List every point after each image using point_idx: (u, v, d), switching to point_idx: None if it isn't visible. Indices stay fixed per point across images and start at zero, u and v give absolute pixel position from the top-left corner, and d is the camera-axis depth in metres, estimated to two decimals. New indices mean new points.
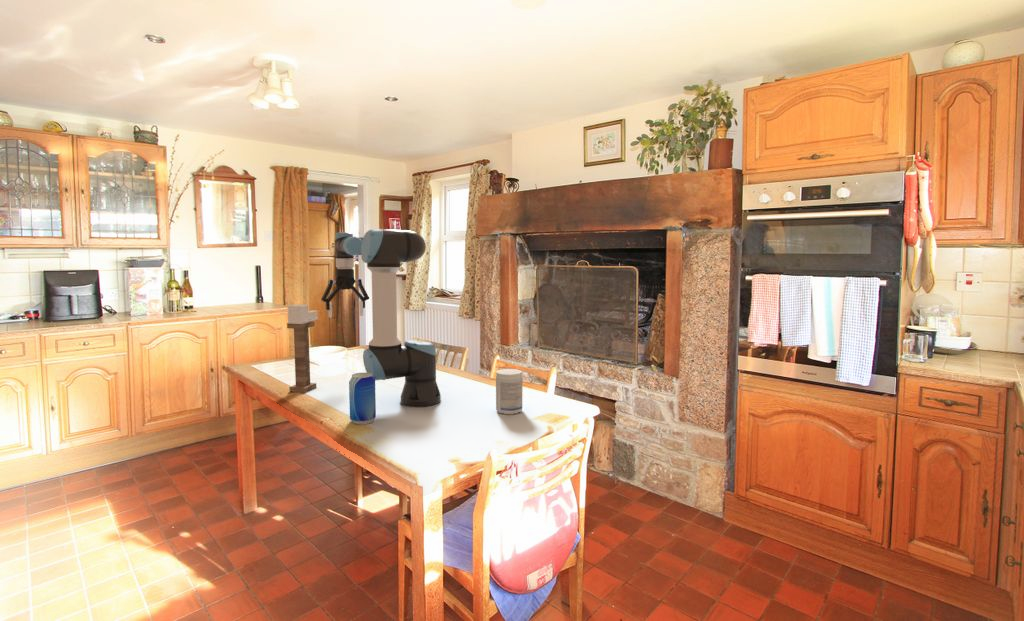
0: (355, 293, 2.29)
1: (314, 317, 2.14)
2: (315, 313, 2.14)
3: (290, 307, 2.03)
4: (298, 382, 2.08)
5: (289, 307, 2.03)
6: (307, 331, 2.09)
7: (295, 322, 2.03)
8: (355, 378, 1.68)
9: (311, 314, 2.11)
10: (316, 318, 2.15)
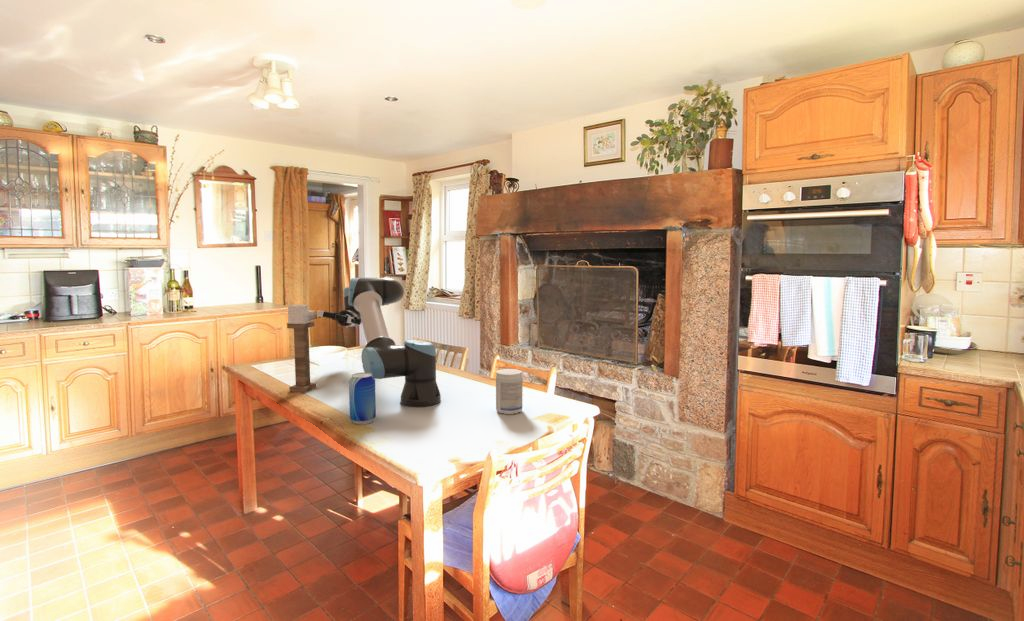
0: None
1: (312, 317, 2.14)
2: (312, 313, 2.15)
3: (291, 307, 2.03)
4: (298, 382, 2.08)
5: (290, 307, 2.03)
6: (307, 331, 2.09)
7: (296, 322, 2.03)
8: (355, 378, 1.68)
9: (309, 314, 2.12)
10: (313, 318, 2.15)
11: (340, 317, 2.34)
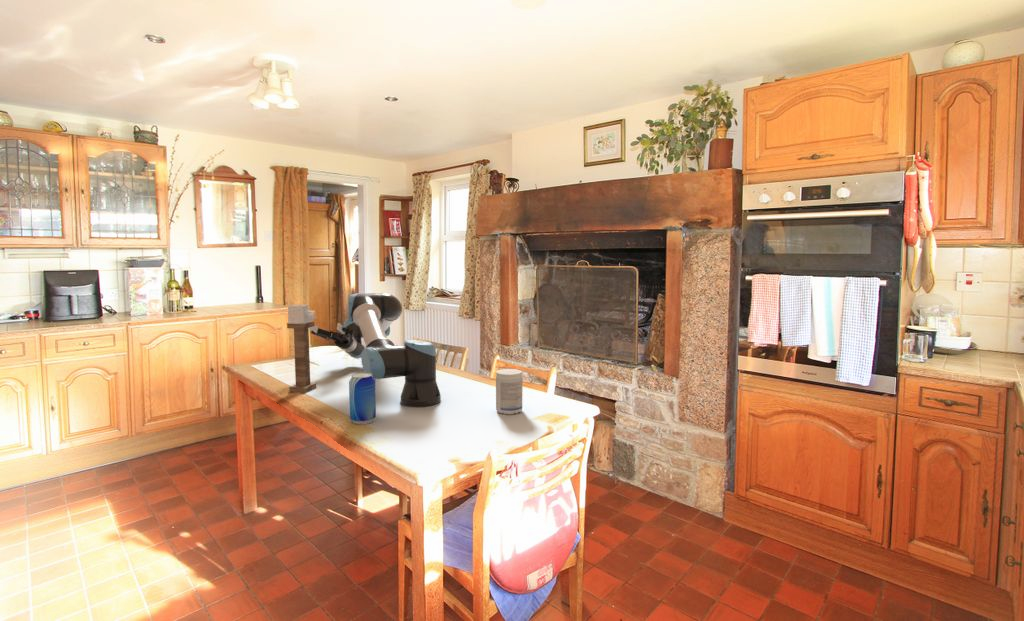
0: (343, 335, 2.32)
1: (312, 317, 2.14)
2: (312, 313, 2.15)
3: (291, 307, 2.03)
4: (298, 382, 2.08)
5: (290, 307, 2.03)
6: (307, 331, 2.09)
7: (296, 322, 2.03)
8: (355, 378, 1.68)
9: (309, 314, 2.12)
10: (313, 318, 2.15)
11: (335, 335, 2.35)
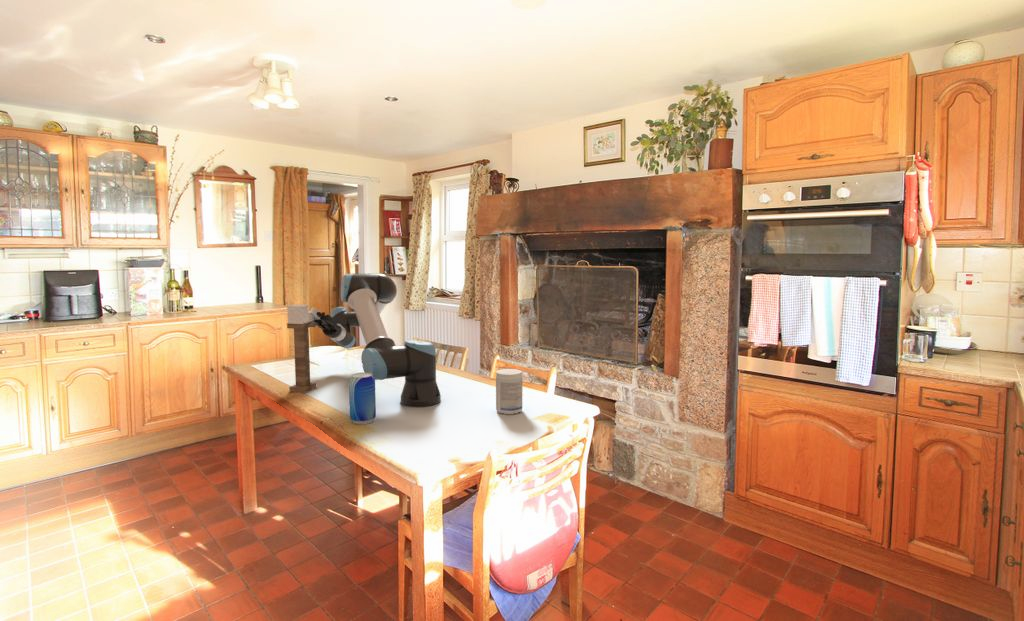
0: None
1: (314, 317, 2.13)
2: None
3: (290, 307, 2.03)
4: (298, 382, 2.08)
5: (289, 307, 2.03)
6: (307, 331, 2.09)
7: (295, 322, 2.03)
8: (355, 378, 1.68)
9: (311, 314, 2.11)
10: (316, 318, 2.15)
11: (323, 322, 2.24)
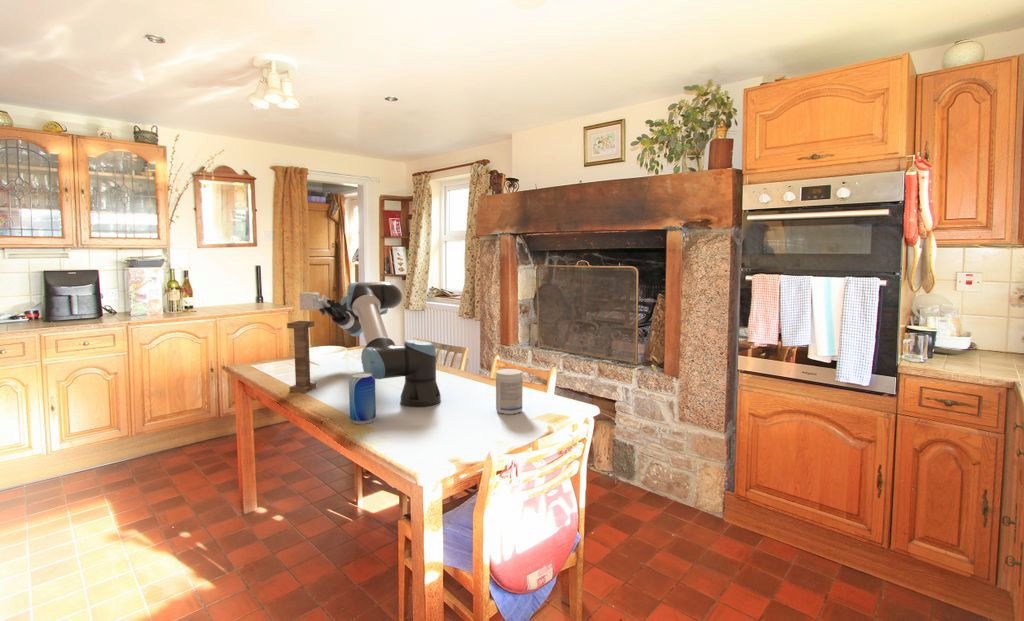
0: None
1: (324, 305, 2.22)
2: None
3: (302, 294, 2.11)
4: (298, 382, 2.08)
5: (301, 294, 2.11)
6: (307, 331, 2.09)
7: (306, 309, 2.11)
8: (355, 378, 1.68)
9: (321, 301, 2.19)
10: (326, 305, 2.23)
11: (333, 310, 2.32)
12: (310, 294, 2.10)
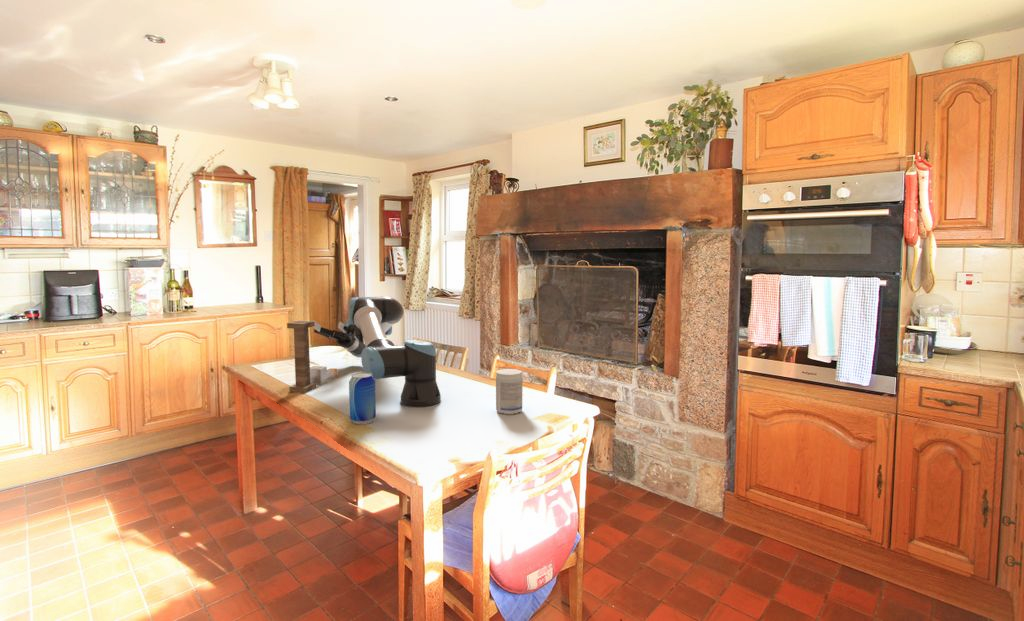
0: (345, 334, 2.34)
1: (331, 376, 2.28)
2: (332, 372, 2.29)
3: (310, 370, 2.18)
4: (298, 382, 2.08)
5: None
6: (307, 331, 2.09)
7: None
8: (355, 378, 1.68)
9: (329, 374, 2.26)
10: (333, 377, 2.30)
11: (338, 333, 2.37)
12: (318, 370, 2.17)
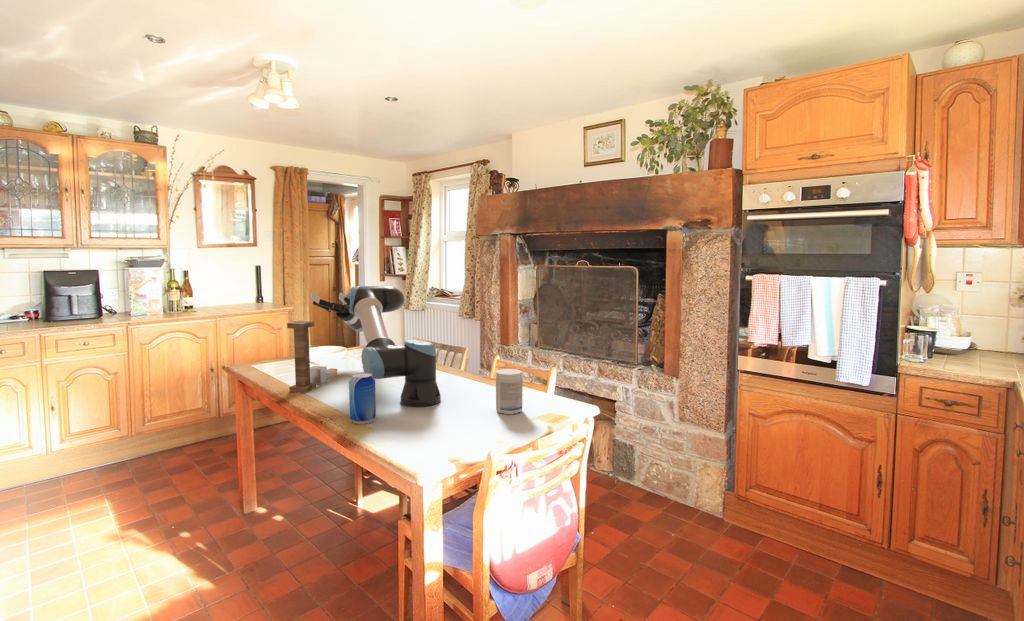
0: (345, 306, 2.32)
1: (331, 376, 2.28)
2: (332, 372, 2.29)
3: (310, 370, 2.18)
4: (298, 382, 2.08)
5: None
6: (307, 331, 2.09)
7: None
8: (355, 378, 1.68)
9: (329, 374, 2.26)
10: (333, 377, 2.30)
11: (337, 306, 2.35)
12: (318, 370, 2.17)
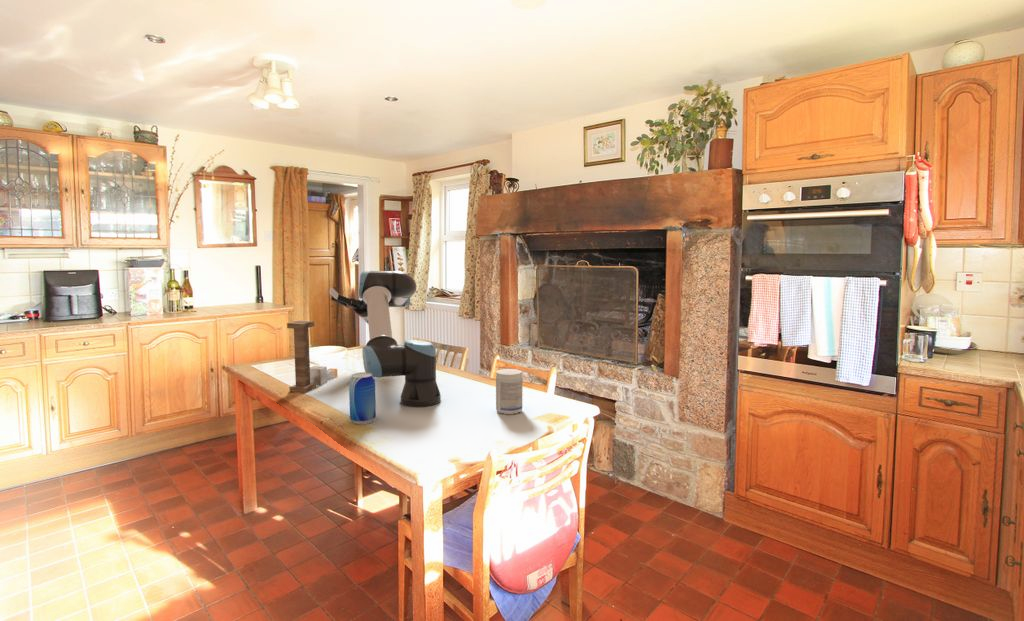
0: (363, 301, 2.32)
1: (331, 376, 2.28)
2: (332, 372, 2.29)
3: (310, 370, 2.18)
4: (298, 382, 2.08)
5: None
6: (307, 331, 2.09)
7: None
8: (355, 378, 1.68)
9: (329, 374, 2.26)
10: (333, 377, 2.30)
11: (355, 301, 2.35)
12: (318, 370, 2.17)
